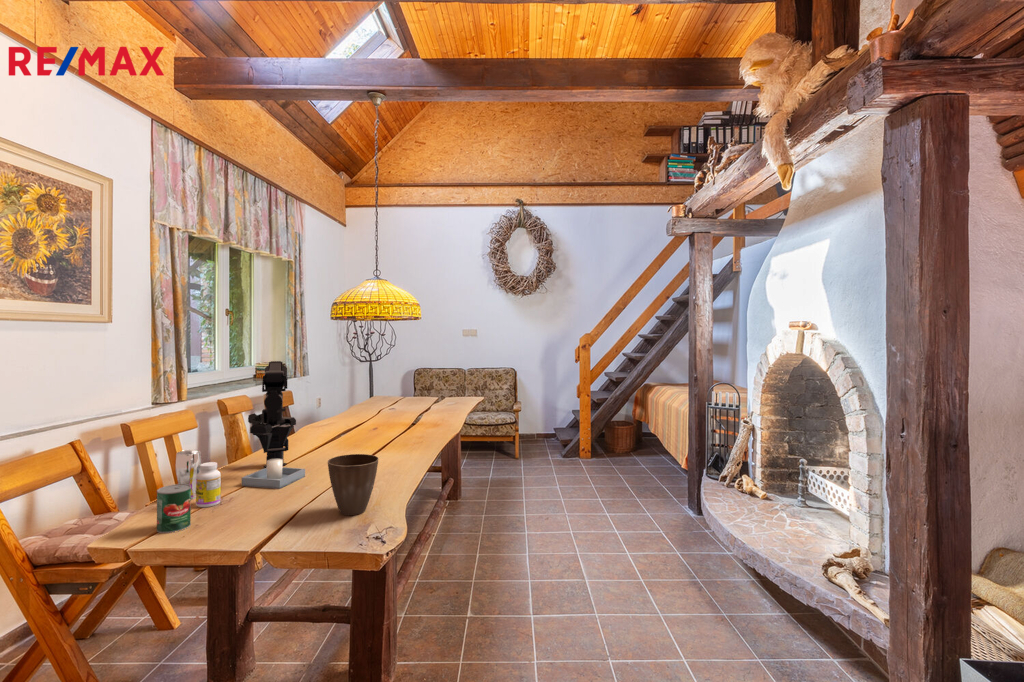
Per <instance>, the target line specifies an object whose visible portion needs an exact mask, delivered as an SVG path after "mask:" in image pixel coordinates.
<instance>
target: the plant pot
mask: <svg viewBox="0 0 1024 682" xmlns="http://www.w3.org/2000/svg"><path fill="white" fill-rule="evenodd" d="M378 465H379V457H378V456H376V455H373V454H367V453H365V454H364V453H361V454H360V453H353V454H351V453H350V454H343V455H338V456H335V457H331V458H330V459H328V460H327V467H328V468H327V469H328V475H329V481H330V486H331V488H332V489H331V490H332V493H333V497H334V499H335V502H336V505H337V509H338V510H339V513H340V514H341V515H344V516H357V515H361V514H363V513H365V512H366V510H367V507H368V504H369V502H370V499H371V495H372V493H373V489H374V484H375V482H376V476H377V472H378Z"/></svg>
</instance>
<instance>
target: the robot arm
mask: <svg viewBox="0 0 1024 682" xmlns="http://www.w3.org/2000/svg"><path fill="white" fill-rule="evenodd" d="M261 382H262V385H261V387H262V388H261V389H262V390H261V392H262V393H265V398H264V401H263V403H264V407H265V408H264V409H262V411H261V413H260V414H256V413H251V414H248V417H247V418H248V419H247V422H248V423H249V424H251V426H250V428H249V434H252V435H253V436H255V437H257V438H258V440H259V442H260V445H261V447H262V450H263V454H266V457H265V458H266V464H265V465H263V466H262V467H263V468H265V467H266V468H267V460H270V459H283V467H285V465H287V464H288V463H287V462H285V461H284V455H285V454H284V452H287V451H289V439H288V438H289V435H290V434H291V432H292V430H293V429H294V428H295V426H296V425H297V419H296V418H295V417H293V416H292V417H291V416H283V414H284V413H283V412H286V407H283V405H284V401H283V400H284V397H283V396H284V395H283V394H284V393H283V392H286V391H287V389H288V368H287V367H286V366H285V365H284V363H283V361H281V360H274V361H273V360H270V361H269V362H268V365H267V366H266V367H265V368H264V374H263V375H262V381H261Z"/></svg>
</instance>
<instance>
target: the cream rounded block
mask: <svg viewBox="0 0 1024 682" xmlns="http://www.w3.org/2000/svg"><path fill="white" fill-rule="evenodd" d="M283 463H284V462H283V459H270V460H267V479H282V467H284V466H283Z"/></svg>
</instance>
